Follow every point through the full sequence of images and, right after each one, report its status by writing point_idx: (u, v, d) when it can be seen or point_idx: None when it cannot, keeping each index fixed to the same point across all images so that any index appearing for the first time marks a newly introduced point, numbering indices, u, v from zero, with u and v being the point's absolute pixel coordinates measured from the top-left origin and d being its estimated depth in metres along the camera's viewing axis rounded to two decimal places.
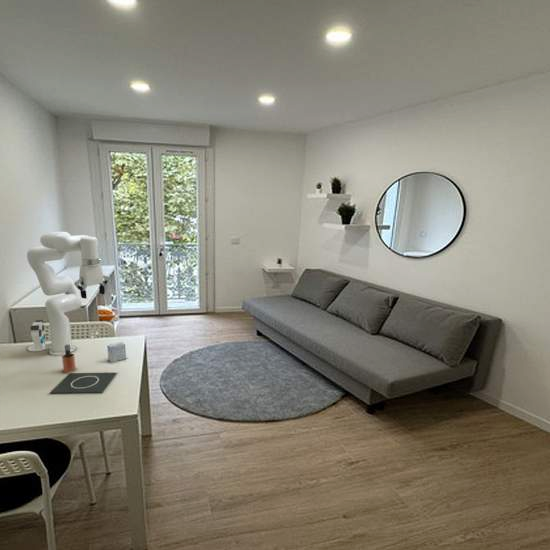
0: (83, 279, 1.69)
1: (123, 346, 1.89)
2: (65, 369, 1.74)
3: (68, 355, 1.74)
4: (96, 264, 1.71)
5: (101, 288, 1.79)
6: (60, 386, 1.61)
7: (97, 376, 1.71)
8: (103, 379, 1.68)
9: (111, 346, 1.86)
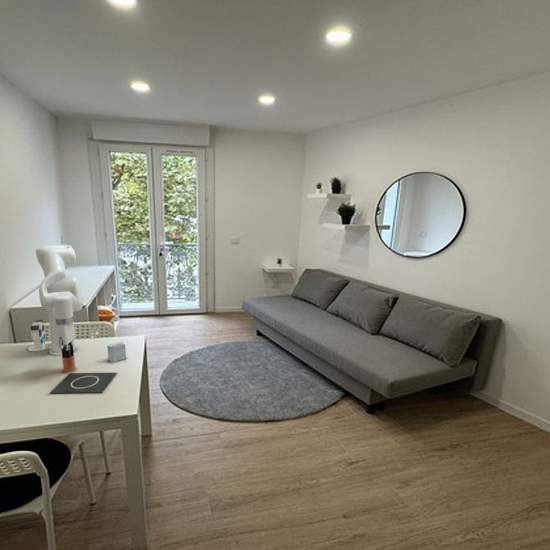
0: (63, 339, 1.68)
1: (123, 346, 1.89)
2: (65, 369, 1.74)
3: None
4: (73, 321, 1.73)
5: (70, 348, 1.76)
6: (60, 386, 1.61)
7: (97, 376, 1.71)
8: (103, 379, 1.68)
9: (111, 346, 1.86)
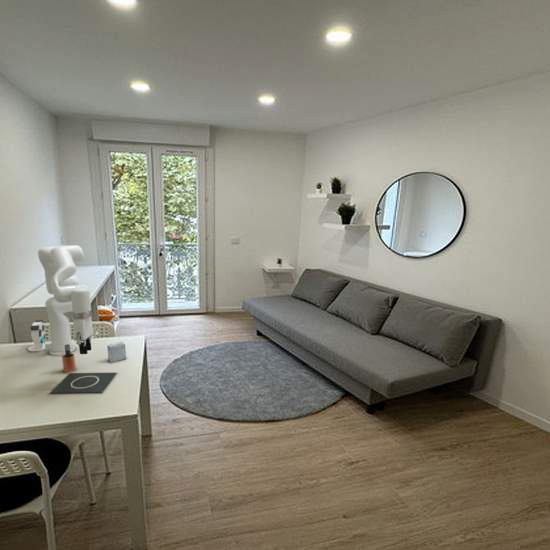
0: (81, 334, 1.58)
1: (123, 346, 1.89)
2: (65, 369, 1.74)
3: (68, 355, 1.74)
4: (91, 315, 1.63)
5: (87, 344, 1.66)
6: (60, 386, 1.61)
7: (97, 376, 1.71)
8: (103, 379, 1.68)
9: (111, 346, 1.86)
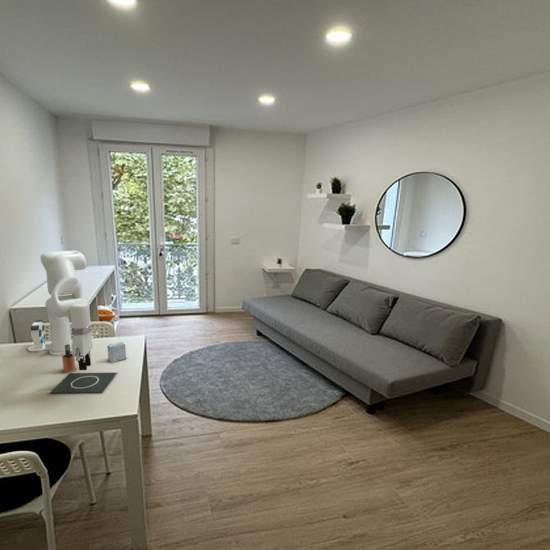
0: (80, 350, 1.55)
1: (123, 346, 1.89)
2: (65, 369, 1.74)
3: (68, 355, 1.74)
4: (90, 331, 1.59)
5: (86, 360, 1.63)
6: (60, 386, 1.61)
7: (97, 376, 1.71)
8: (103, 379, 1.68)
9: (111, 346, 1.86)
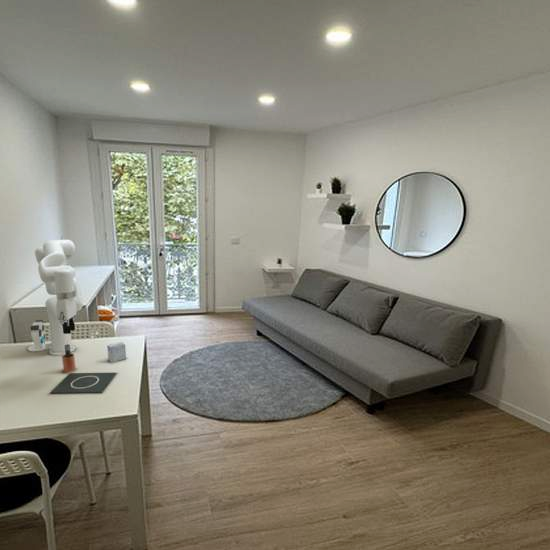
0: (64, 313, 1.62)
1: (123, 346, 1.89)
2: (65, 369, 1.74)
3: (68, 355, 1.74)
4: (74, 296, 1.67)
5: (71, 324, 1.70)
6: (60, 386, 1.61)
7: (97, 376, 1.71)
8: (103, 379, 1.68)
9: (111, 346, 1.86)
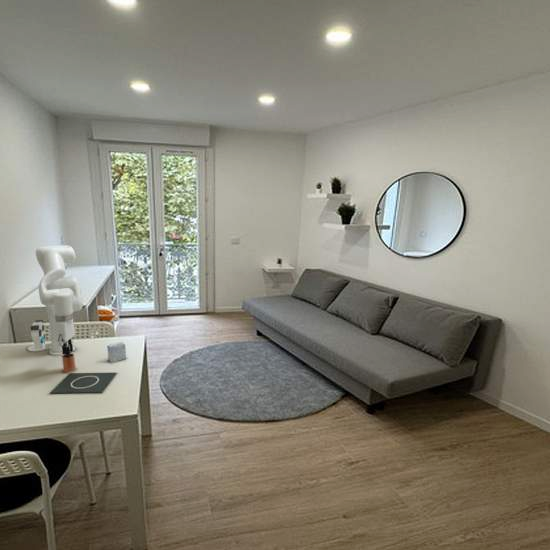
0: (63, 336, 1.68)
1: (123, 346, 1.89)
2: (65, 369, 1.74)
3: (68, 355, 1.74)
4: (73, 318, 1.72)
5: None
6: (60, 386, 1.61)
7: (97, 376, 1.71)
8: (103, 379, 1.68)
9: (111, 346, 1.86)
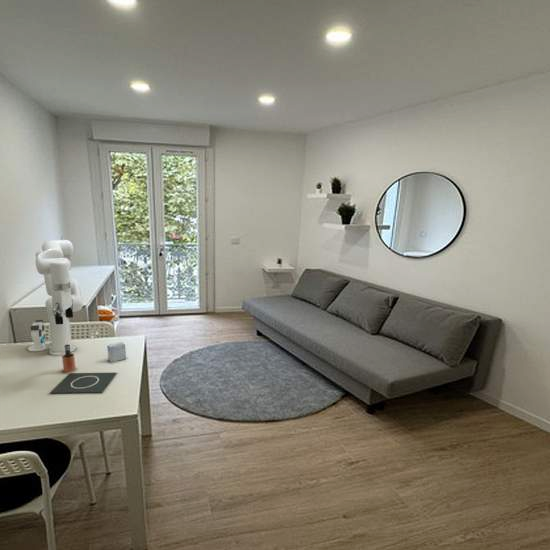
0: (60, 304, 1.65)
1: (123, 346, 1.89)
2: (65, 369, 1.74)
3: (68, 355, 1.74)
4: (70, 287, 1.69)
5: (69, 311, 1.75)
6: (60, 386, 1.61)
7: (97, 376, 1.71)
8: (103, 379, 1.68)
9: (111, 346, 1.86)
